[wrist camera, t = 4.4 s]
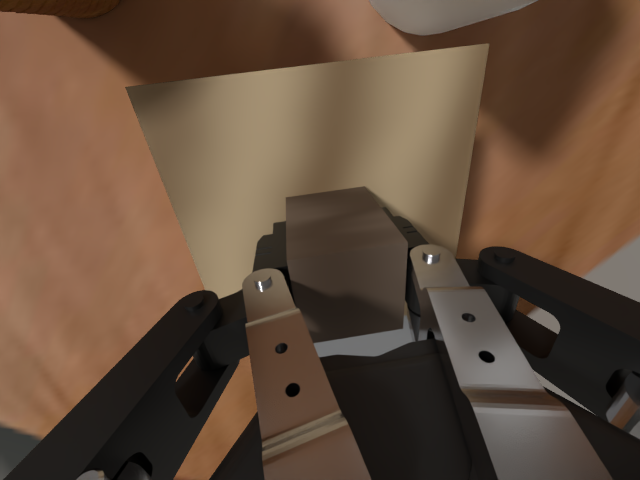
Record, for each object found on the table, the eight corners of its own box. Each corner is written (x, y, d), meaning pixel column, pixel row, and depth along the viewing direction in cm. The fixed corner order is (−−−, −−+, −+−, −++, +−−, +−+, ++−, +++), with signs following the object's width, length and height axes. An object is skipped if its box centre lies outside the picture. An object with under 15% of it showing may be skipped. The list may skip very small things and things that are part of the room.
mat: (437, 254, 24) (439, 257, 24) (424, 361, 31) (426, 364, 31) (273, 280, 23) (273, 283, 23) (298, 384, 30) (298, 387, 30)
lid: (473, 46, 11) (638, 15, 6) (439, 297, 18) (504, 388, 12) (138, 86, 11) (-2, 91, 5) (229, 331, 17) (205, 440, 12)
